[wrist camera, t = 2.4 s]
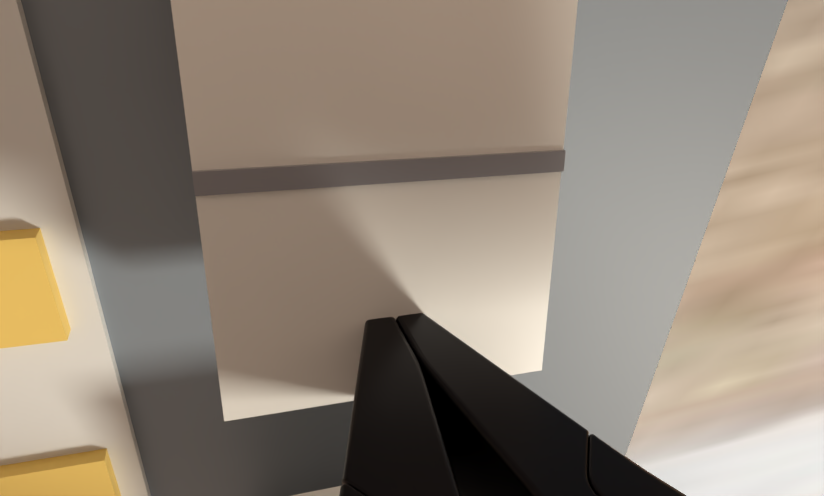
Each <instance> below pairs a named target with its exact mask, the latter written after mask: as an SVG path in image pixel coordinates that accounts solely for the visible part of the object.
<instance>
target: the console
mask: <svg viewBox="0 0 824 496" xmlns="http://www.w3.org/2000/svg"><path fill="white" fill-rule="evenodd" d="M787 1H788V0H578V5H577V16H576V26H575V36H574V46H573V56H572V67H571V77H570V87H569V97H568V108H567V118H566V128H565V138H564V148H563V150H565V151H566V154H565V164H564V171H563V172H561V179H560V189H559V200H558V210H557V220H556V230H555V241H554V251H553V261H552V271H551V281H550V292H549V302H548V312H547V322H546V333H545V343H544V353H543V363H542V370H541V371H535V372H528V373H522V374H516V375H511V376H512V377H514V378H515V379H516V380H518V381H519V382H521V383H522V384H523V385H525V386H526V387H528V388H529V389H530V390H532V391H533V392H535V393H536V394H537V395H539V396H540V397H542V398H543V399H544V400H546V401H547V402H549V403H550V404H551V405H553V406H554V407H556V408H557V409H559V410H560V411H561V412H563V413H564V414H566V415H567V416H568V417H570V418H571V419H573V420H574V421H575V422H577V423H578V424H580V425H581V426H582V427H584V428H585V429H587V430H588V432H589V435H590V434H594V435H595V436H597V437H598V438H600V439H601V440H602V441H604V442H605V443H607V444H608V445H609V446H611V447H612V448H614V449H615V450H617V451H618V452H619V453H621V454H622V455H624V456H625V455H626V452H627V449H628V446H629V443H630V441H631V438H632V435H633V432H634V429H635V427H636V424H637V421H638V418H639V415H640V413H641V410H642V407H643V404H644V402H645V399H646V396H647V393H648V390H649V388H650V385H651V382H652V379H653V376H654V374H655V371H656V368H657V365H658V362H659V360H660V357H661V354H662V351H663V348H664V346H665V343H666V340H667V337H668V334H669V332H670V329H671V326H672V323H673V320H674V318H675V315H676V312H677V309H678V306H679V304H680V301H681V298H682V295H683V292H684V290H685V287H686V284H687V281H688V278H689V276H690V273H691V270H692V267H693V264H694V262H695V259H696V256H697V253H698V250H699V248H700V245H701V242H702V239H703V236H704V234H705V231H706V228H707V225H708V222H709V220H710V217H711V214H712V211H713V208H714V206H715V203H716V200H717V197H718V194H719V192H720V189H721V186H722V183H723V180H724V178H725V175H726V172H727V169H728V166H729V164H730V161H731V158H732V155H733V152H734V150H735V147H736V144H737V141H738V138H739V136H740V133H741V130H742V127H743V125H744V122H745V119H746V116H747V113H748V111H749V108H750V105H751V102H752V99H753V97H754V94H755V91H756V88H757V85H758V83H759V80H760V77H761V74H762V71H763V69H764V66H765V63H766V60H767V57H768V55H769V52H770V49H771V46H772V43H773V41H774V38H775V35H776V32H777V29H778V27H779V24H780V21H781V18H782V15H783V13H784V10H785V7H786V4H787ZM352 408H353V401H348V402H342V403H336V404H330V405H324V406H317V407H311V408H305V409H299V410H293V411H286V412H280V413H274V414H268V415H262V416H255V417H249V418H243V419H237V420H231V421H224V416H223V408H222V400H221V392H220V385H219V377H218V369H217V361H216V353H215V345H214V338H213V330H212V322H211V314H210V306H209V298H208V291H207V283H206V275H205V267H204V259H203V251H202V244H201V236H200V228H199V220H198V212H197V204H196V196H195V192H194V185H193V177H192V165H191V157H190V149H189V142H188V134H187V126H186V118H185V110H184V102H183V95H182V87H181V79H180V71H179V63H178V55H177V48H176V40H175V32H174V24H173V16H172V8H171V0H0V496H292V495H297V494H302V493H307V492H312V491H317V490H322V489H327V488H332V487H337V486H342V476H343V469H344V462H345V456H346V449H347V442H348V435H349V428H350V422H351V415H352Z"/></svg>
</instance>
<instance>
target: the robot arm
mask: <svg viewBox="0 0 824 496" xmlns="http://www.w3.org/2000/svg"><path fill="white" fill-rule="evenodd" d="M339 496H686V495H684V494H683V493H681V492H680V491H678V490H676V489H675V488H673V487H672V486H670V485H668V484H667V483H665V482H664V481H662V480H660V479H659V478H657V477H655V476H654V475H652V474H651V473H649V472H647V471H646V470H645V469H643V468H642V467H640V466H639V465H637V464H636V463H634V462H633V461H631V460H630V459H628V458H627V457H625V456H624V455H622V454H621V453H619V452H618V451H617V450H615V449H614V448H612V447H611V446H609V445H608V444H607V443H605V442H604V441H602V440H601V439H600V438H598V437H597V436H595V435H594V434H590V435H589V432H588V430H587V429H585V428H584V427H582V426H581V425H580V424H578V423H577V422H575V421H574V420H573V419H571V418H570V417H568V416H567V415H566V414H564V413H563V412H561V411H560V410H559V409H557V408H556V407H554V406H553V405H551V404H550V403H549V402H547V401H546V400H544V399H543V398H542V397H540V396H539V395H537V394H536V393H535V392H533V391H532V390H530V389H529V388H528V387H526V386H525V385H523V384H522V383H521V382H519V381H518V380H516V379H515V378H514V377H512V376H511V375H509V374H508V373H507V372H505V371H504V370H502V369H501V368H500V367H498V366H497V365H495V364H494V363H492V362H491V361H490V360H488V359H487V358H485V357H484V356H483V355H481V354H480V353H478V352H477V351H476V350H474V349H473V348H471V347H470V346H469V345H467V344H466V343H464V342H463V341H462V340H460V339H459V338H457V337H456V336H455V335H453V334H452V333H450V332H449V331H448V330H446V329H445V328H443V327H442V326H440V325H439V324H438V323H436V322H435V321H433V320H432V319H431V318H429V317H428V316H426V315H425V314H423V313H417V314H409V315H401V316H398V317H397V318H396V320H395V318H394V317H385V318H377V319H370V320H367V321H366V322H365V327H364V334H363V340H362V347H361V354H360V361H359V368H358V374H357V381H356V388H355V395H354V401H353V408H352V415H351V422H350V428H349V435H348V442H347V449H346V456H345V462H344V469H343V476H342V486H341V488H340V494H339Z"/></svg>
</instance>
